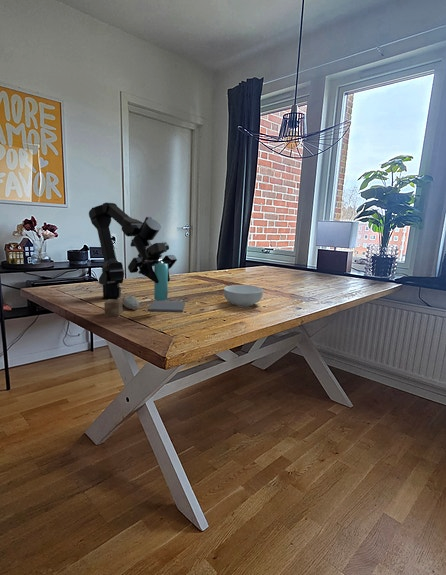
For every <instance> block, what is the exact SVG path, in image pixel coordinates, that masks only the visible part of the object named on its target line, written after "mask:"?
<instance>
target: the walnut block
mask: <svg viewBox="0 0 446 575" xmlns="http://www.w3.org/2000/svg"><path fill="white" fill-rule="evenodd" d="M122 300H123V299H106V300H105V302H104V303H103V304H104V305H103V306H104V317H120V316H121V315H122V314H123V311H124V310H123V302H122Z"/></svg>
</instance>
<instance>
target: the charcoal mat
mask: <svg viewBox="0 0 446 575" xmlns="http://www.w3.org/2000/svg"><path fill="white" fill-rule="evenodd" d="M185 306H186V301H178V300H177V301H176V300H175V301H174V300H173V301H172V300H153V302H152V303H151V304H150V306H149V307H148V309H147V310H148V312H170V313H172V312H173V313H174V312H179V313H183V312H184V309H185Z"/></svg>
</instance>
